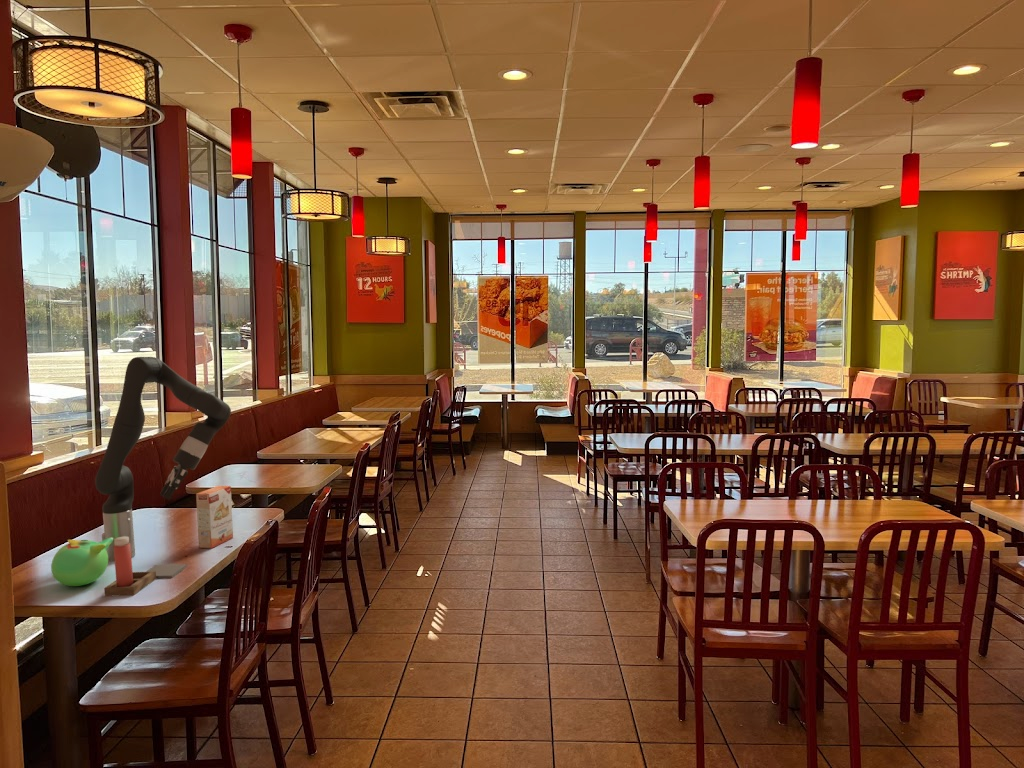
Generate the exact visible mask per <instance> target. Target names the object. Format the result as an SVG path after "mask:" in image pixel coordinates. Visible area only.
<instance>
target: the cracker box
mask: <svg viewBox="0 0 1024 768" xmlns="http://www.w3.org/2000/svg"><path fill="white" fill-rule="evenodd" d="M195 498H196V500H195V501H196V514H197V515H196V516H197V533H198V536H197V537H198V548H199V549H200V548H201V549H213V548H215V547H217V546H219V545H221V544H223V543H225V542H228V541H230V540H231V538H232V539H234V531H233V530H234V529H233V527H234V526H233V511H232V509H233V507H232V487H231V486H230V485H217V486H215V487H210V488H209V489H206V490H203V491H200V492H198V493H196V494H195ZM229 539H230V540H229Z"/></svg>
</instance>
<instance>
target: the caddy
mask: <svg viewBox="0 0 1024 768" xmlns="http://www.w3.org/2000/svg"><path fill="white" fill-rule="evenodd" d="M132 572H133V584H132V585H131V586H130V587H117V584H116V580H114V581H112V582H110V584H108V585H107V586H105V587H104V588H103V589H104V597H113V596H112V595H119V596H135V595H136V594H138V593H139V592H141V591H142V590H143V589H145V588H146V587H147V586H149V585H150V584H151V583H152V582H155V580H157V578H156V571H154V572H146V571H132ZM148 584H149V585H148Z"/></svg>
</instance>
